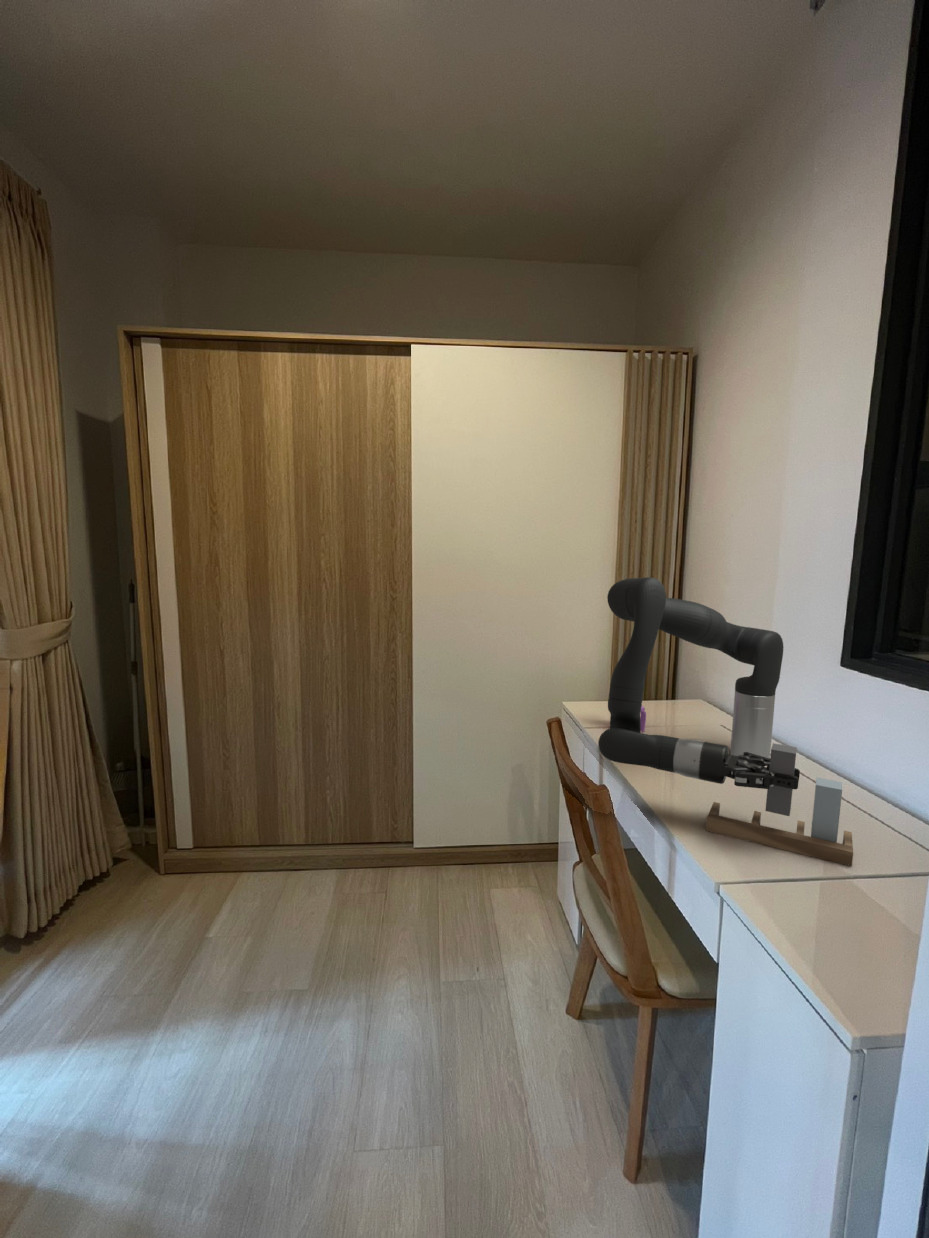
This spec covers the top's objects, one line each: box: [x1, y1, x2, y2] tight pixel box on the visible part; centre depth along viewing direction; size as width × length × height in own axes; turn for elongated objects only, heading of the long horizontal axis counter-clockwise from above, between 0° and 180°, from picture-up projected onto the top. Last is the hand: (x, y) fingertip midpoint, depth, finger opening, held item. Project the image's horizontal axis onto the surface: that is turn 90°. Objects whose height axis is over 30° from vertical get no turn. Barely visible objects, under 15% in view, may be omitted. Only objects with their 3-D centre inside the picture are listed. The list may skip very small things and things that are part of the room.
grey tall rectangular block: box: [765, 743, 798, 817], centre depth 113 cm, size 4×4×12 cm
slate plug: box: [810, 777, 843, 843], centre depth 110 cm, size 4×4×12 cm
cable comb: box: [705, 801, 854, 867], centre depth 113 cm, size 8×24×2 cm, turn 59°
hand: (798, 779), depth 111 cm, fingers closed on grey tall rectangular block, 4 cm apart
